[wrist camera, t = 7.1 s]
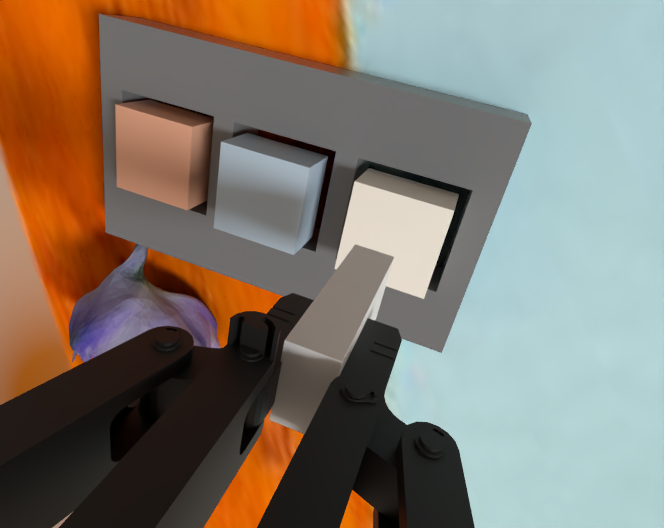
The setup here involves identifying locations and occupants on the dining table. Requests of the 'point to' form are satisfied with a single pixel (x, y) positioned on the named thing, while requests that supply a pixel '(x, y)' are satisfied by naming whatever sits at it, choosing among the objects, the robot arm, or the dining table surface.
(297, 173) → the blue key
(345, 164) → the console
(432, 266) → the ivory key
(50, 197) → the dining table surface
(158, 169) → the terracotta key
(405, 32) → the dining table surface
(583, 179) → the dining table surface
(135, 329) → the flower
